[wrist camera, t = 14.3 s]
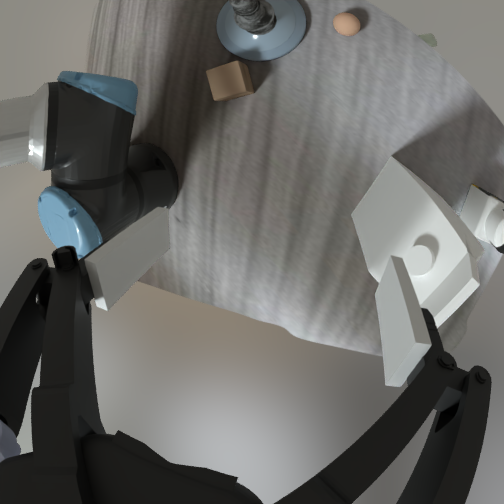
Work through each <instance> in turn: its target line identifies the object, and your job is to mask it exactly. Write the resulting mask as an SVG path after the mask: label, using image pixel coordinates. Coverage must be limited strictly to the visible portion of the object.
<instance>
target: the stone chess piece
mask: <svg viewBox="0 0 504 504" xmlns="http://www.w3.org/2000/svg"><path fill="white" fill-rule="evenodd" d="M229 3H230V5H231V6H232V7H233V10H234V21H235V23H236V24H237V25H238V26H239V27H240V28H242V29H244V30H246V31H247V32H249V33H250V34H253V35H264V34H267V33H269V32H270V31H272V30H273V29H274V27H275V25H276V22H277V19H276V16H275V13H274V9H273V7H272V5H271V4H270V3H269V2H267V1H265V0H229Z"/></svg>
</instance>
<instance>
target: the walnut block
mask: <svg viewBox="0 0 504 504" xmlns="http://www.w3.org/2000/svg"><path fill="white" fill-rule="evenodd" d="M206 73H207V77H208V80H209V84H210V88H211V91H212V95H213V99H214V101H228V100H231V99H235V98H238V97H242V96H245V95H249V94H253V93H255V92H254V88H253V85H252V81H251V77H250V74H249V70H248V67H247V65H246V64H244V63H242V62H240V61H238V60H237V61H234V62H231V63H227V64H224V65H221V66H218V67H215V68H212V69H210V70H207V71H206Z"/></svg>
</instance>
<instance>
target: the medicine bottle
mask: <svg viewBox="0 0 504 504" xmlns="http://www.w3.org/2000/svg"><path fill="white" fill-rule="evenodd" d="M459 217H460V219H461V220H462V221H463V222H464V223H465V225H466V226H467V227H468V228H469V230H470V231H471V232H472V233H473V235H474V236H475V237H476V238H478V239H481V240H483V241H485V242H487V243H489V244H492V245H493V246H494V247H495V248H496V249H497V250H498V251H499V252H500V253H504V201H502V200H501V199H499V198H498V197H496V196H494V195H493V194H491V193H489V192H487V191H485V190H484V189H482V188H480V187H478V186H476V185H474V184H471V186H470V189H469V192H468V195H467V198H466V201H465V203H464V206H463V209H462V211H461V214H460V216H459Z"/></svg>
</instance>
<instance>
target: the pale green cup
mask: <svg viewBox="0 0 504 504" xmlns="http://www.w3.org/2000/svg"><path fill="white" fill-rule="evenodd" d="M417 36H419V37H420V38H421V39H422V40H423V41H425V42H426V43H427V44H428V45H430V46H431V47H436V46H437V41H436V39H435V37H434V35H433V34H431V33H429V34H422V35H417Z"/></svg>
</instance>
